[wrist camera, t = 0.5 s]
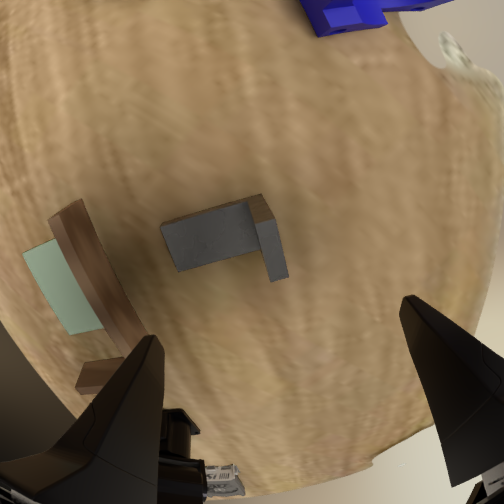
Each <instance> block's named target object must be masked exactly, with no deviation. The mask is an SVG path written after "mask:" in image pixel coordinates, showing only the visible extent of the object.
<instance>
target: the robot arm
mask: <svg viewBox="0 0 504 504" xmlns="http://www.w3.org/2000/svg"><path fill="white" fill-rule="evenodd" d="M399 317H400V321H401V324H402V327H403V331H404V334H405V338H406V341H407V345H408V348H409V352H410V354H411V357H412V360H413V362H414V365H415V368H416V370H417V373H418V375H419V378H420V381H421V384H422V386H423V389H424V392H425V395H426V398H427V401H428V404H429V407H430V410H431V413H432V416H433V419H434V422H435V425H436V429H437V432H438V436H439V439H440V442H441V447H442V450H443V454H444V457H445V462H446V466H447V470H448V474H449V479H450V483H451V486H452V487H455V486H457V485H459V484H461V483H464V482H466V481H468V480H470V479H472V478H474V477H476V476H478V475H480V474H481V475H482V479H483V480H482V481H480V482H478V483H477V484H475V487H474V489H473V491H472V493H471V495H470V497H469V499H468V501H467V503H466V504H504V358H502V357H501V356H499V355H498V354H496V353H495V352H493V351H492V350H491V349H489V348H488V347H487V346H485V345H484V344H483V343H482V344H481V342H480V341H479V340H477V339H476V338H475V337H473V336H472V335H471V334H469V333H468V332H467V331H465V330H464V329H462V328H461V327H460V326H458V325H457V324H456V323H454V322H453V321H451V320H450V319H449V318H447V317H446V316H444V315H443V314H442V313H440V312H439V311H437V310H436V309H434V308H433V307H431V306H430V305H429V304H427V303H426V302H424V301H423V300H421V299H420V298H418V297H417V296H415V295H408V296H405V297H404V298H403V300H402V304H401V307H400V311H399ZM164 363H165V353H164V348H163V347H162V345H161V343H160V341H159V340H158V338H157V337H156V335H145V336H144V337H143V338H142V339H141V340H140V341H139V343H138V344H137V345H136V346H135V347H134V349H133V350H132V351H131V352H130V354H129V355H128V356H127V357H126V359H125V360H124V361H123V362H122V364H121V365H120V366H119V367H118V369H117V370H116V371H115V372H114V374H113V375H112V376H111V378H110V379H109V380H108V381H107V383H106V384H105V385H104V386H103V388H102V389H101V390H100V392H99V393H98V394H97V395H96V397H95V398H94V399H93V401H92V403H90V404H89V406H88V407H87V408H86V410H85V411H84V412H83V413H82V414H81V416H80V417H79V418H78V419H77V420H76V422H75V423H74V424H73V425H72V426H71V427H70V428H69V430H67V431H66V433H65V434H64V435H63V436H62V437H61V438H60V439H59V440H58V441H57V442H56V443H55V444H54V445H53V446H52V447H51V448H50V449H48V450H47V451H45V452H43V453H40V454H36V455H32V456H29V457H25V458H21V459H17V460H13V461H9V462H0V482H1V483H3V484H4V485H6V486H8V487H9V488H11V489H12V490H11V492H10V491H8V490H5V489H4V488H2V487H0V504H203V502H205V500H206V498H207V491H208V484H207V477H206V471H205V464H204V460H201V459H199V460H197V459H190V450H191V435H198V434H200V430H199V429H198V427H197V426H196V425H195V424H194V423H193V422H192V420H191V419H190V418H189V417H188V415H187V414H186V413H185V412H184V411H183V410H181V409H177V410H168V411H162V409H163V399H164Z"/></svg>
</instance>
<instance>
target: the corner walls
mask: <svg viewBox="0 0 504 504" xmlns="http://www.w3.org/2000/svg"><path fill="white" fill-rule="evenodd" d="M48 223H49V225H50V227H51V230H52V232H53V234H54V236H55V239H56V241H57V243H58V245H59V247H60V249H61V251H62V254H63V256H64V258H65V260H66V262H67V264H68V266H69V268H70V270H71V271H72V273H73V275H74V277H75V279H76V281H77V283H78V285H79V286H80V288H81V290H82V292H83V294H84V295H85V297H86V299H87V301H88V302H89V304H90V306H91V307H92V309H93V311H94V312H95V314H96V316H97V317H98V319H99V321H100V322H101V324H102V325H103V327H104V328H105V330H106V332H107V333H108V335H109V336H110V338H111V339H112V341H113V342H114V344H115V345H116V347H117V348H118V350H119V351H120V352H121V354H122V355H123V357H120V358H114V359H107V360H101V361H94V362H87V363H85V364H84V366H83V368H82V371H81V373H80V376H79V378H78V381H77V383H76V386H75V389H76V390H77V391H78V392H79V393H80V394H81V395H85V394H98V393H99V392H100V390H101V389H102V388H103V386H104V385H105V384H106V383H107V381H108V380H109V379H110V378H111V376H112V375H113V374H114V372H115V371H116V370H117V369H118V367H119V366H120V365H121V364H122V362H123V361H124V360H125V359H126V357H127V356H128V355H129V354H130V352H131V351H132V350H133V349H134V347H135V346H136V345H137V344H138V343H139V341H140V340H141V339H142V338H143V337H144V336H145V335H148V333H147V332H146V330H145V328H144V327H143V325H142V323H141V321H140V320H139V318H138V316H137V314H136V313H135V311H134V309H133V307H132V305H131V304H130V302H129V300H128V298H127V296H126V294H125V292H124V291H123V289H122V287H121V285H120V283H119V281H118V279H117V277H116V275H115V273H114V271H113V269H112V267H111V265H110V263H109V261H108V259H107V257H106V254H105V252H104V250H103V248H102V246H101V244H100V241H99V239H98V237H97V235H96V232H95V230H94V228H93V225H92V223H91V221H90V218H89V216H88V213H87V211H86V208H85V206H84V203H83V201H82V199H80V200H78V201H75V202H73V203H71V204H70V205H68V206H67V207H65V208H64V209H62V210H61V211H59V212H58V213H56V214H55V215H53V216H52V217H51V218H49V219H48Z"/></svg>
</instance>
